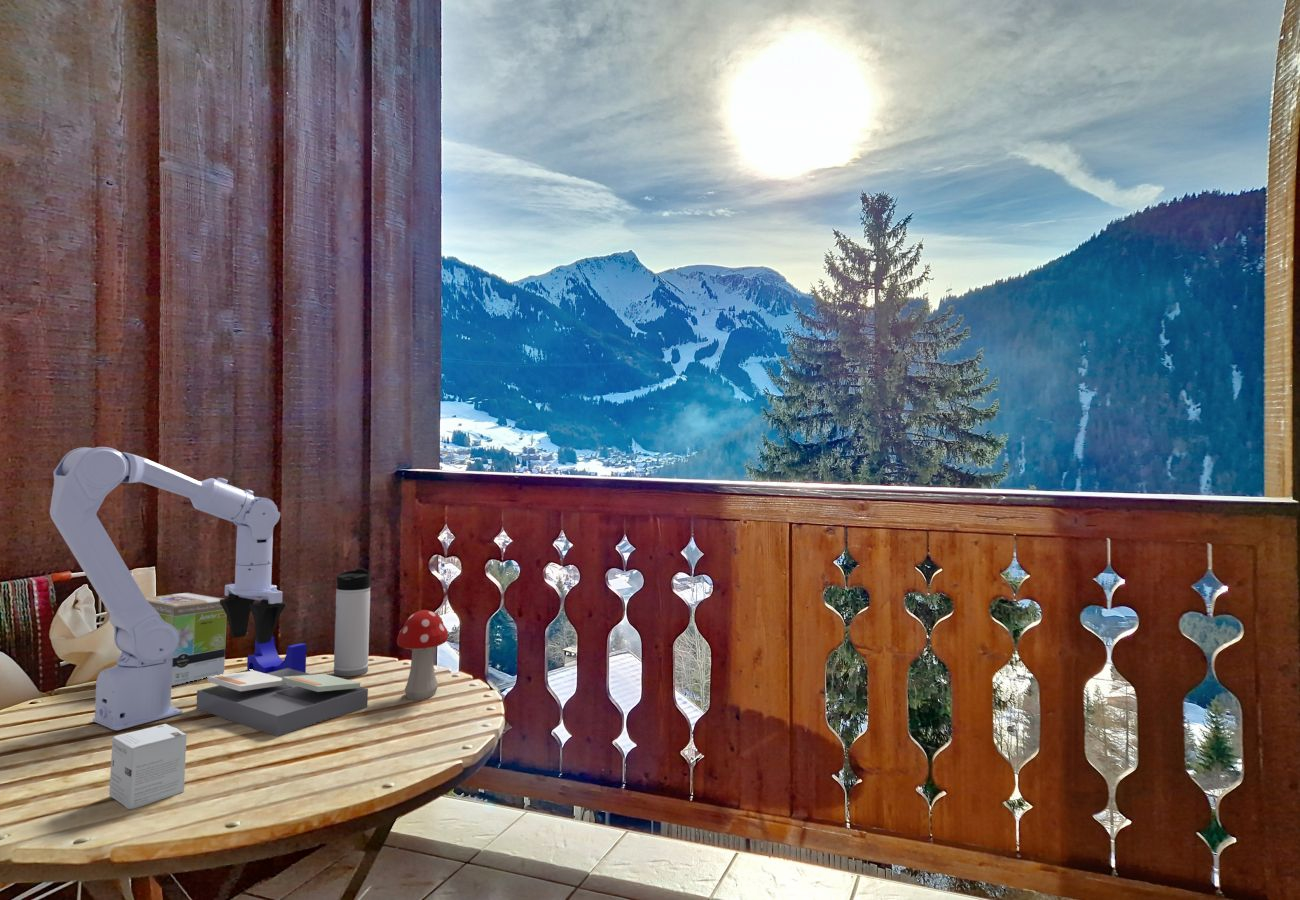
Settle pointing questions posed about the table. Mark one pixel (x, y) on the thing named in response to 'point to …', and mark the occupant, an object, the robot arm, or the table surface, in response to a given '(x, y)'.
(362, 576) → the travel mug
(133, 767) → the skincare box
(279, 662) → the blue curved bracket
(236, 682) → the cream rocker
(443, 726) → the table surface
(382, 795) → the table surface
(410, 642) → the decorative mushroom
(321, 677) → the plate
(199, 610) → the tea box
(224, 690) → the switch block
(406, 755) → the table surface
